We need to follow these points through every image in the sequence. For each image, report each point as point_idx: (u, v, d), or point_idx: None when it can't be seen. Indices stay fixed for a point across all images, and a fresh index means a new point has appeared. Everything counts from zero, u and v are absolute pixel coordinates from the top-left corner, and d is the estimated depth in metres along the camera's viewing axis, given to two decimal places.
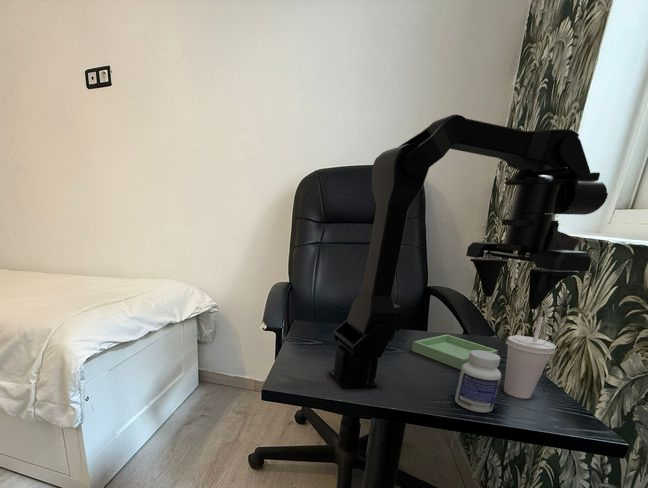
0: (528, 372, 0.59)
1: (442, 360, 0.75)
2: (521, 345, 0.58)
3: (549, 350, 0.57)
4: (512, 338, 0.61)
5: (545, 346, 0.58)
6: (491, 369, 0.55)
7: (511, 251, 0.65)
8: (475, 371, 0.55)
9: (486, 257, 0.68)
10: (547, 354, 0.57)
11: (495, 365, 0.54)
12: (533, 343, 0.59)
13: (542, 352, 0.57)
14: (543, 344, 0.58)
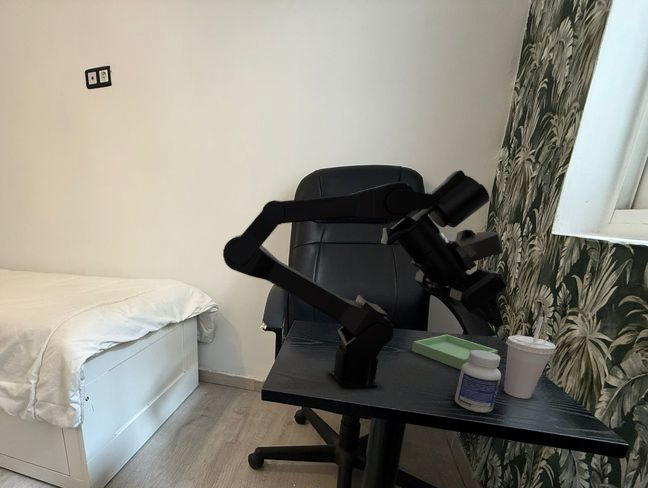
0: (528, 372, 0.59)
1: (442, 360, 0.75)
2: (521, 345, 0.58)
3: (549, 350, 0.57)
4: (512, 338, 0.61)
5: (545, 346, 0.58)
6: (491, 369, 0.55)
7: None
8: (475, 371, 0.55)
9: None
10: (547, 354, 0.57)
11: (495, 365, 0.54)
12: (533, 343, 0.59)
13: (542, 352, 0.57)
14: (543, 344, 0.58)
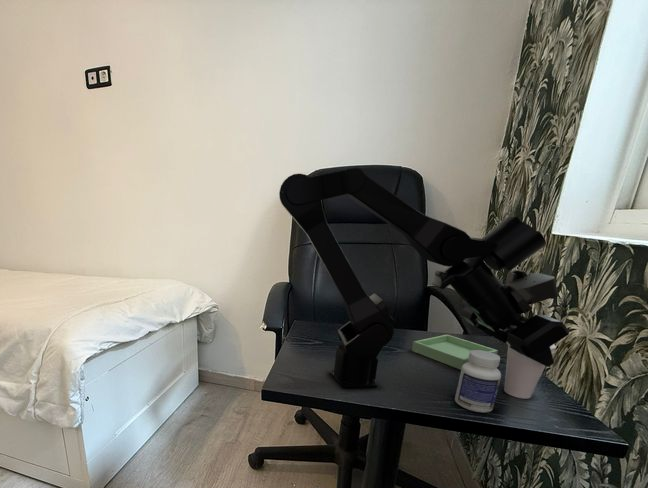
0: (528, 372, 0.59)
1: (442, 360, 0.75)
2: None
3: None
4: None
5: None
6: (491, 369, 0.55)
7: None
8: (475, 371, 0.55)
9: None
10: None
11: (495, 365, 0.54)
12: None
13: None
14: None
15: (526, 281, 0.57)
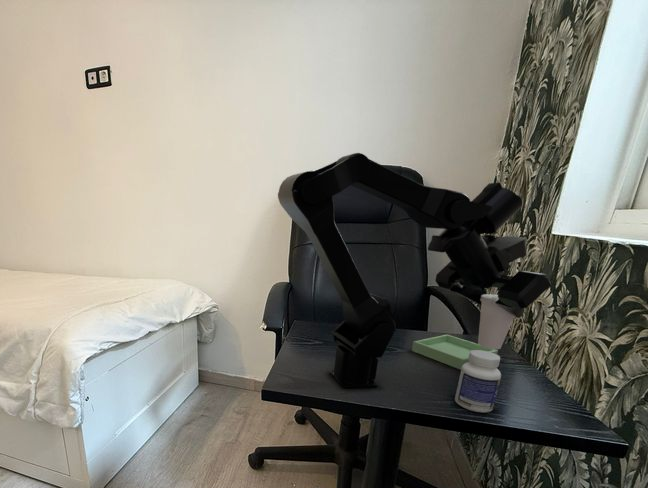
0: (502, 325, 0.66)
1: (442, 360, 0.75)
2: None
3: None
4: (485, 296, 0.68)
5: None
6: (491, 369, 0.55)
7: None
8: (475, 371, 0.55)
9: (462, 285, 0.70)
10: None
11: (495, 365, 0.54)
12: None
13: None
14: None
15: (500, 243, 0.64)
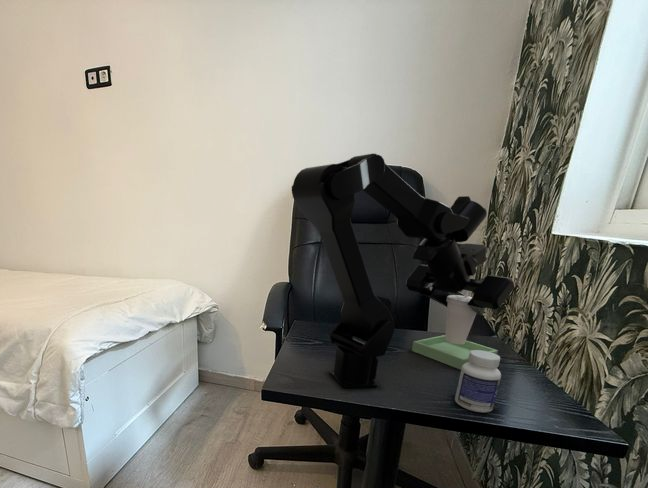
0: (468, 322, 0.74)
1: (442, 360, 0.75)
2: (465, 301, 0.72)
3: None
4: (451, 298, 0.75)
5: None
6: (491, 369, 0.55)
7: None
8: (475, 371, 0.55)
9: (431, 288, 0.76)
10: None
11: (495, 365, 0.54)
12: (468, 299, 0.74)
13: None
14: None
15: (465, 250, 0.71)
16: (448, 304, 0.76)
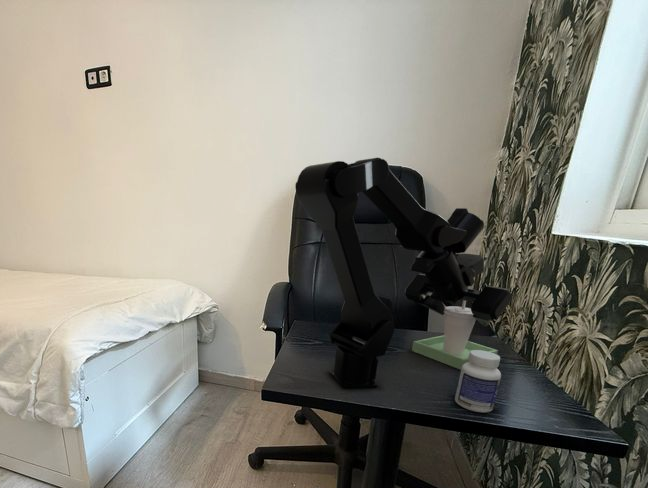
0: (466, 334, 0.75)
1: (442, 360, 0.75)
2: (463, 314, 0.73)
3: None
4: (449, 309, 0.76)
5: None
6: (491, 369, 0.55)
7: None
8: (475, 371, 0.55)
9: (425, 296, 0.78)
10: None
11: (495, 365, 0.54)
12: (465, 311, 0.75)
13: None
14: (470, 310, 0.75)
15: (463, 260, 0.72)
16: (446, 316, 0.77)
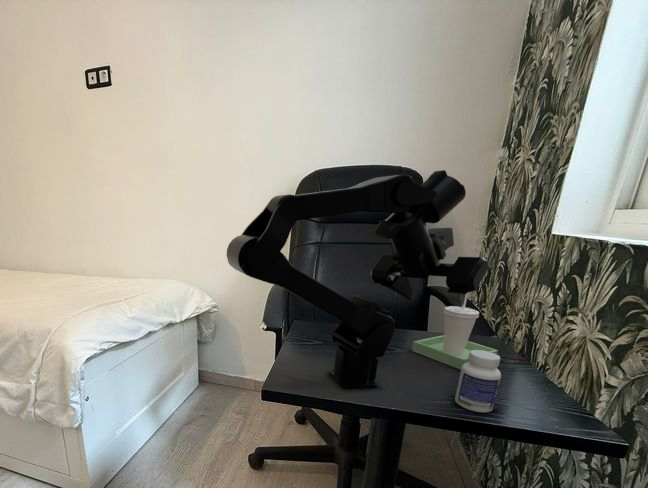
0: (466, 334, 0.75)
1: (442, 360, 0.75)
2: (463, 314, 0.73)
3: (478, 314, 0.74)
4: (449, 309, 0.76)
5: (473, 311, 0.75)
6: (491, 369, 0.55)
7: None
8: (475, 371, 0.55)
9: (393, 278, 0.70)
10: (476, 317, 0.74)
11: (495, 365, 0.54)
12: (465, 311, 0.75)
13: (476, 317, 0.73)
14: (470, 310, 0.75)
15: (432, 233, 0.65)
16: (446, 316, 0.77)
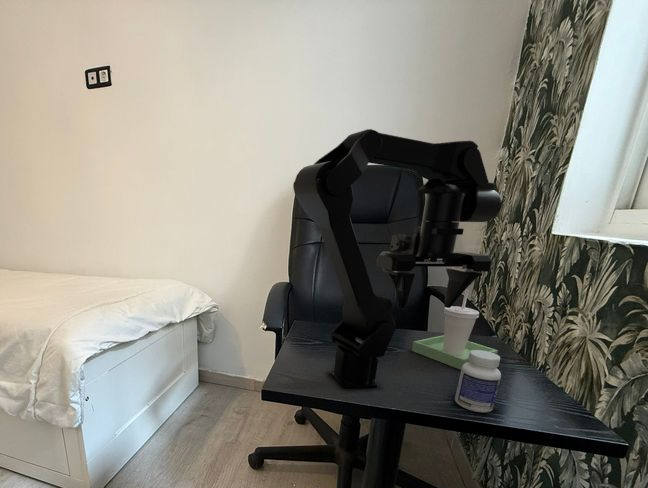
0: (466, 334, 0.75)
1: (442, 360, 0.75)
2: (463, 314, 0.73)
3: (478, 314, 0.74)
4: (449, 309, 0.76)
5: (473, 311, 0.75)
6: (491, 369, 0.55)
7: None
8: (475, 371, 0.55)
9: None
10: (476, 317, 0.74)
11: (495, 365, 0.54)
12: (465, 311, 0.75)
13: (476, 317, 0.73)
14: (470, 310, 0.75)
15: None
16: (446, 316, 0.77)
